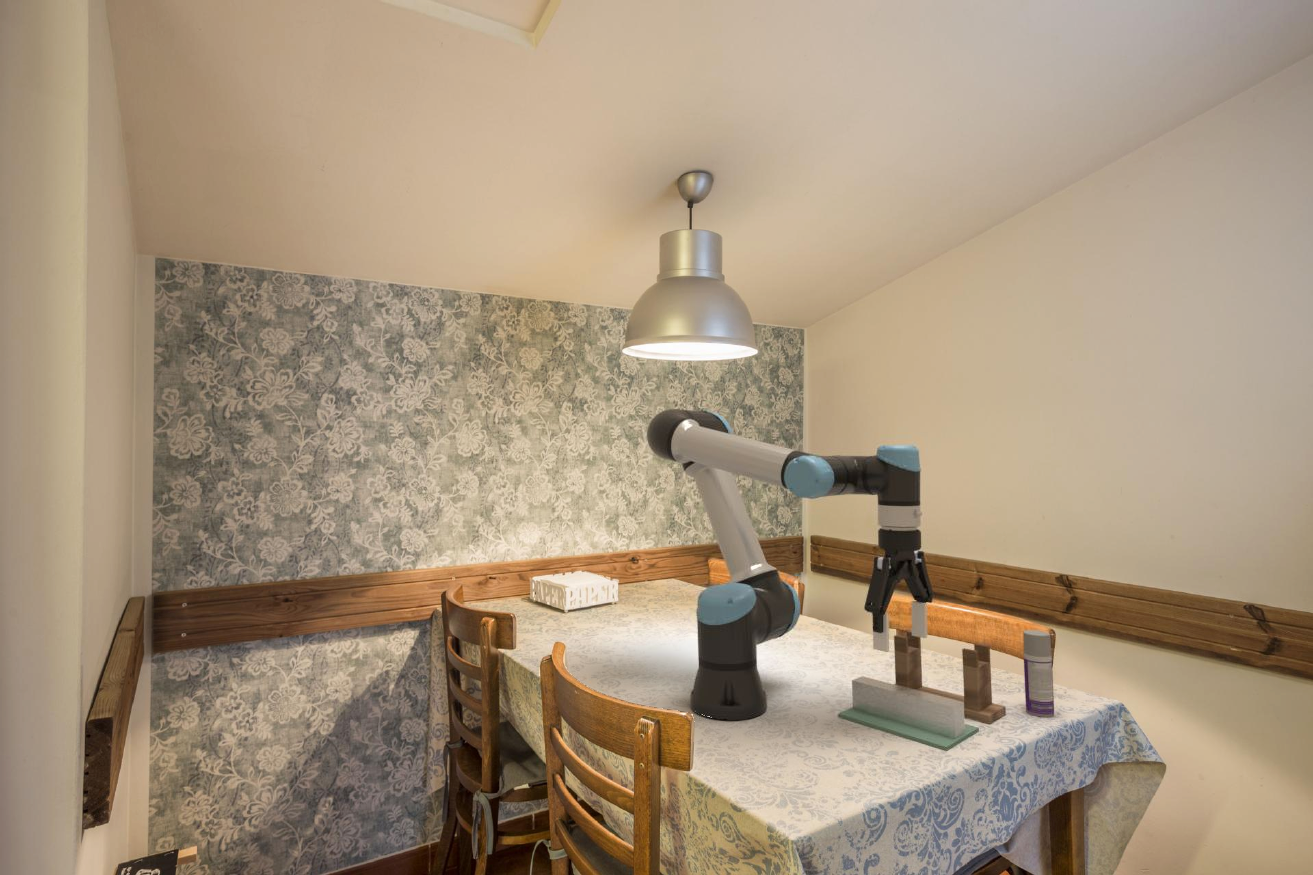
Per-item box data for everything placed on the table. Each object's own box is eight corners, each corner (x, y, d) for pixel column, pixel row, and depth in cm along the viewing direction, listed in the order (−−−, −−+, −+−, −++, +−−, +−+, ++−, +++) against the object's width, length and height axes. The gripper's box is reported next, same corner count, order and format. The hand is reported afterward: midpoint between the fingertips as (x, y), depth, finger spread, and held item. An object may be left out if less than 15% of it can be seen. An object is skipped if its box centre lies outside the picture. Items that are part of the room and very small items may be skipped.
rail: (955, 739, 114) (954, 706, 115) (852, 708, 129) (851, 680, 130) (964, 733, 117) (963, 701, 117) (863, 704, 132) (862, 676, 132)
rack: (989, 724, 122) (986, 654, 123) (884, 695, 138) (882, 634, 138) (1005, 714, 127) (1003, 647, 127) (902, 687, 142) (900, 628, 143)
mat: (946, 750, 111) (946, 746, 111) (838, 716, 127) (838, 713, 127) (978, 730, 119) (978, 727, 119) (872, 701, 135) (872, 698, 135)
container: (1028, 706, 130) (1025, 628, 131) (1056, 711, 127) (1052, 631, 128) (1023, 713, 127) (1020, 633, 127) (1052, 719, 124) (1048, 636, 124)
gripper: (881, 534, 114) (883, 661, 113) (950, 524, 130) (952, 635, 129) (843, 531, 119) (844, 651, 119) (914, 521, 136) (915, 627, 135)
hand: (900, 643), depth 124 cm, fingers open, 13 cm apart
